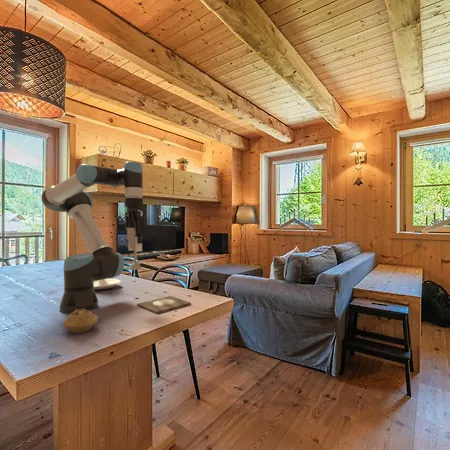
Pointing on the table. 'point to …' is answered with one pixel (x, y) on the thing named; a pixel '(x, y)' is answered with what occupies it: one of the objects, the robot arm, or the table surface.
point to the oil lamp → (80, 321)
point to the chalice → (131, 240)
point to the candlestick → (105, 283)
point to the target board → (163, 304)
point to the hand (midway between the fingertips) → (135, 250)
